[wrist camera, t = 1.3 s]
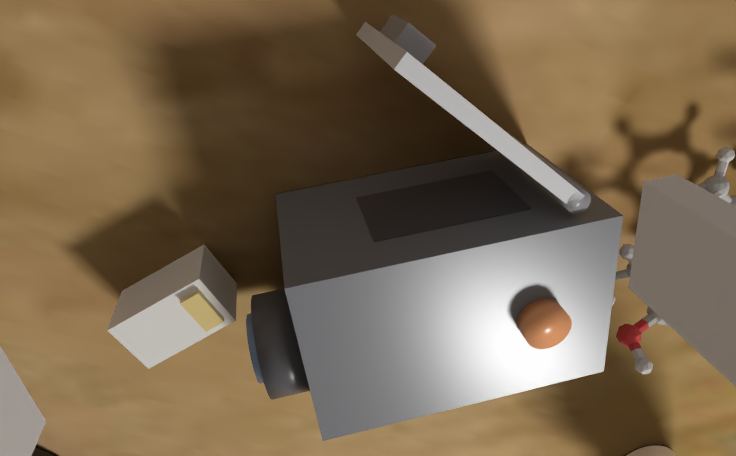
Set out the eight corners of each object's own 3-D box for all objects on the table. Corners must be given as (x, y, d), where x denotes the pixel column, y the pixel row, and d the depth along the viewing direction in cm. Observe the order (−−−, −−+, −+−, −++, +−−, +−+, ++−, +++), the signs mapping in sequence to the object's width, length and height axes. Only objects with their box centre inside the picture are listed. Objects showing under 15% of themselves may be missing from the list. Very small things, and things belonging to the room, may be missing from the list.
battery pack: (158, 326, 35) (147, 373, 31) (122, 289, 33) (105, 335, 29) (237, 282, 35) (235, 324, 31) (204, 243, 33) (198, 282, 29)
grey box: (264, 332, 37) (268, 470, 27) (226, 202, 32) (215, 315, 22) (524, 274, 39) (614, 384, 29) (527, 142, 34) (636, 223, 24)
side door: (353, 37, 28) (390, 74, 20) (377, 4, 27) (423, 28, 20) (504, 155, 33) (577, 218, 25) (526, 129, 32) (608, 185, 25)
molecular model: (801, 87, 36) (977, 142, 28) (776, 210, 42) (916, 286, 33) (538, 187, 35) (640, 275, 27) (549, 299, 41) (636, 401, 32)
